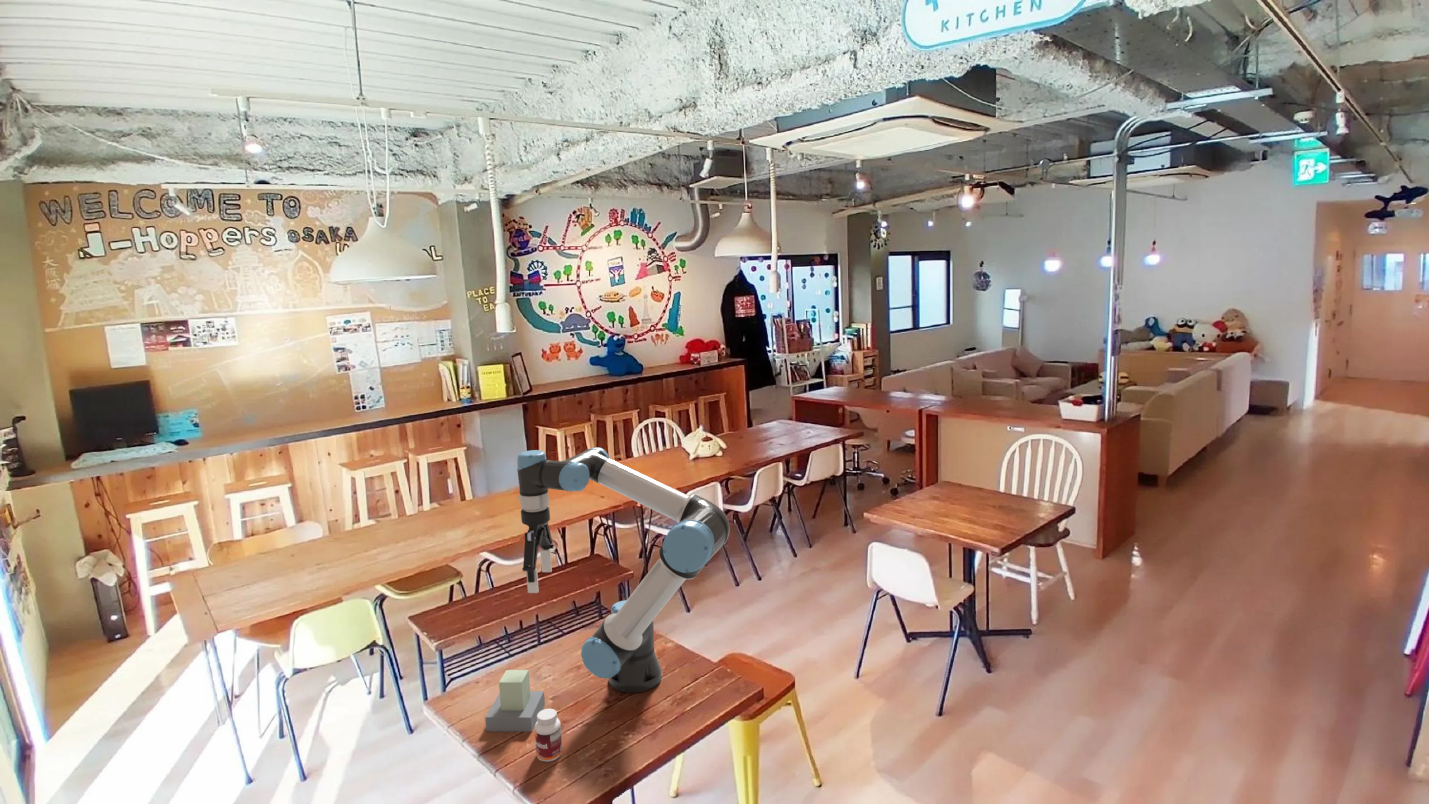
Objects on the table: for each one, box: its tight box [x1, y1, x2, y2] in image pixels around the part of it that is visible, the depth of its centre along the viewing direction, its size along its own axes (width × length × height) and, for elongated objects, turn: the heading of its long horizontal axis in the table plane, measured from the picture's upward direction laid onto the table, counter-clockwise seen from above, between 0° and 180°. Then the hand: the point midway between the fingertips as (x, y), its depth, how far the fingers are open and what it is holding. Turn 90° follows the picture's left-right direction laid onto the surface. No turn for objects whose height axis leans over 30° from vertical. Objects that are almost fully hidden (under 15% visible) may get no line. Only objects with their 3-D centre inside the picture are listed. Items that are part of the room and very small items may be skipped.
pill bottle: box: [534, 708, 563, 763], centre depth 180 cm, size 6×6×11 cm
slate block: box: [484, 690, 546, 733], centre depth 196 cm, size 12×12×4 cm
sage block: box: [498, 669, 531, 710], centre depth 195 cm, size 6×6×8 cm
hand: (540, 581), depth 203 cm, fingers open, 13 cm apart
